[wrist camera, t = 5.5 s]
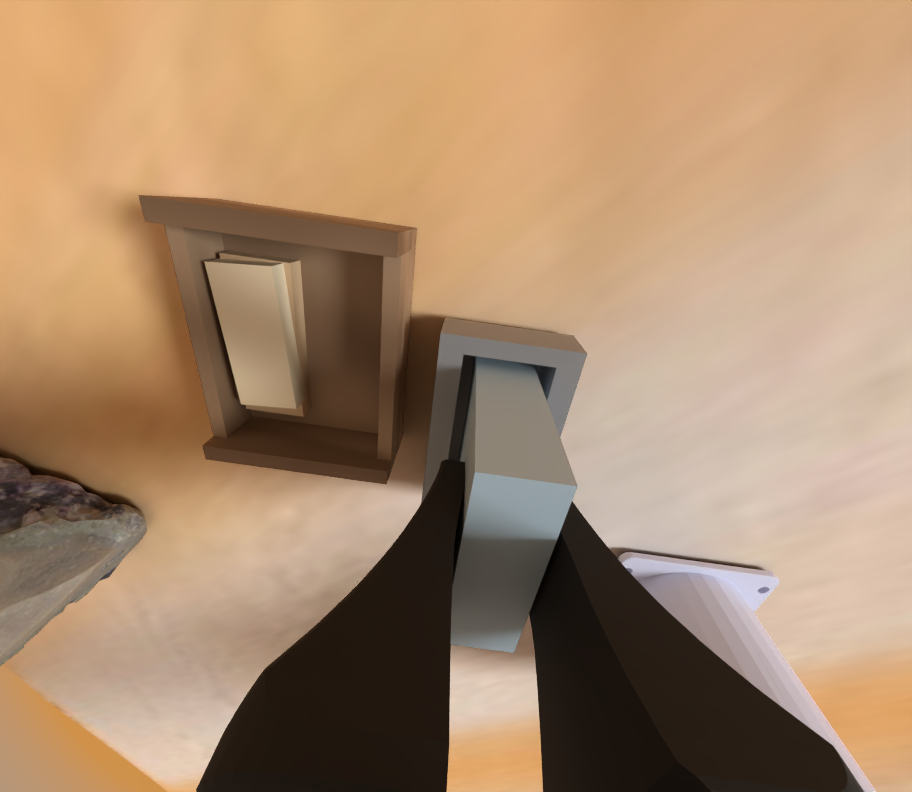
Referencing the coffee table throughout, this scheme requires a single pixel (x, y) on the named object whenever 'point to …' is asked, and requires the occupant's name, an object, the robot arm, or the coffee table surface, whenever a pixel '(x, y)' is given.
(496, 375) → the pale blue flat block
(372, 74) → the coffee table surface
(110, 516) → the mineral rock
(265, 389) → the block
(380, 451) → the frame
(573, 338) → the stand
